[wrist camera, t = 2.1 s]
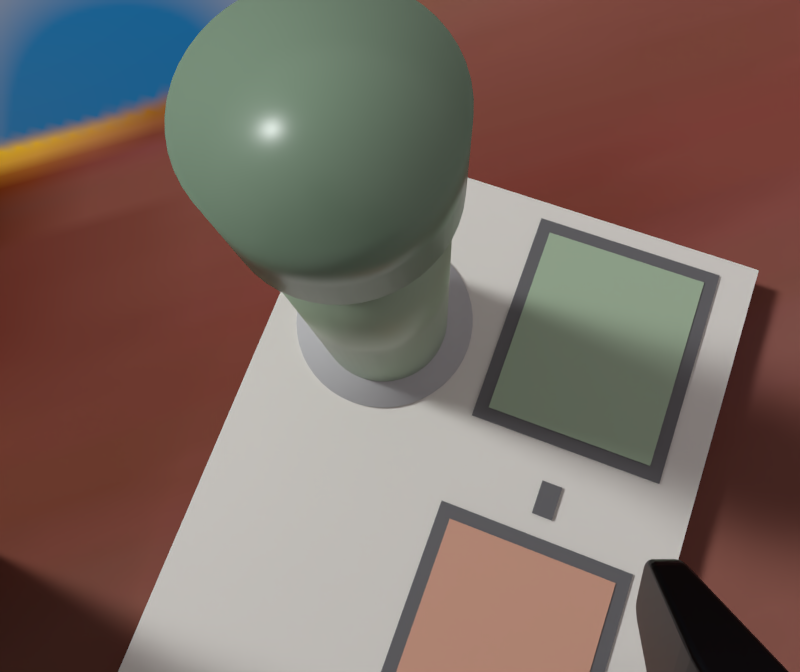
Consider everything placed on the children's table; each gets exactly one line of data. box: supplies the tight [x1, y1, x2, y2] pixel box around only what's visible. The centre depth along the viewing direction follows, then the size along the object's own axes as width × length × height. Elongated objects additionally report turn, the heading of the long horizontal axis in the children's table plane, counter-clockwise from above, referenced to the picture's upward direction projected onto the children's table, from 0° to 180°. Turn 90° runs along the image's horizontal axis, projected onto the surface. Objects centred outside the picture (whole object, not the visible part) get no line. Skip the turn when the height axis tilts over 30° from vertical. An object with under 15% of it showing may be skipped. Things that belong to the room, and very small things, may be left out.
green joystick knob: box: [165, 0, 474, 382], centre depth 15 cm, size 4×4×12 cm
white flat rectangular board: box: [118, 178, 759, 672], centre depth 20 cm, size 18×14×1 cm
